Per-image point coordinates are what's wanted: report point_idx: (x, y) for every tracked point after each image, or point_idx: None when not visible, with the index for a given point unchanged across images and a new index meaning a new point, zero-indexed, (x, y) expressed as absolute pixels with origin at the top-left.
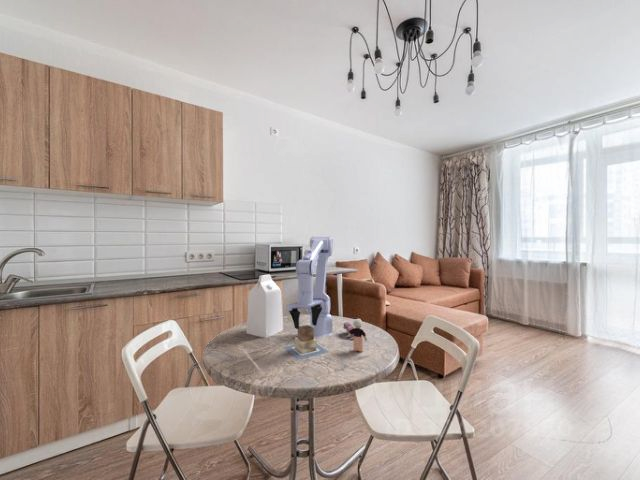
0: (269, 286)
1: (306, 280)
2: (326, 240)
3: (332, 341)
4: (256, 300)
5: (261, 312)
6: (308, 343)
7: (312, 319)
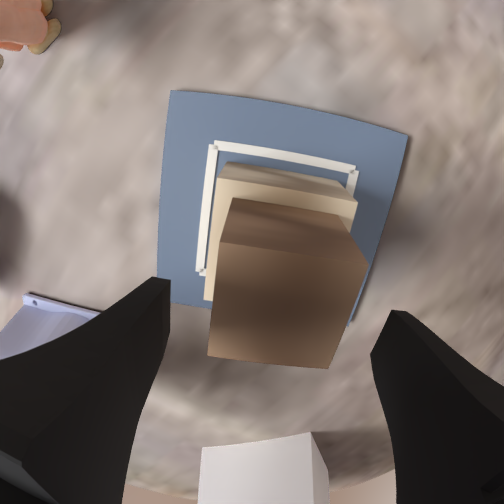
0: None
1: None
2: None
3: (57, 230)
4: None
5: None
6: (297, 186)
7: (152, 370)
